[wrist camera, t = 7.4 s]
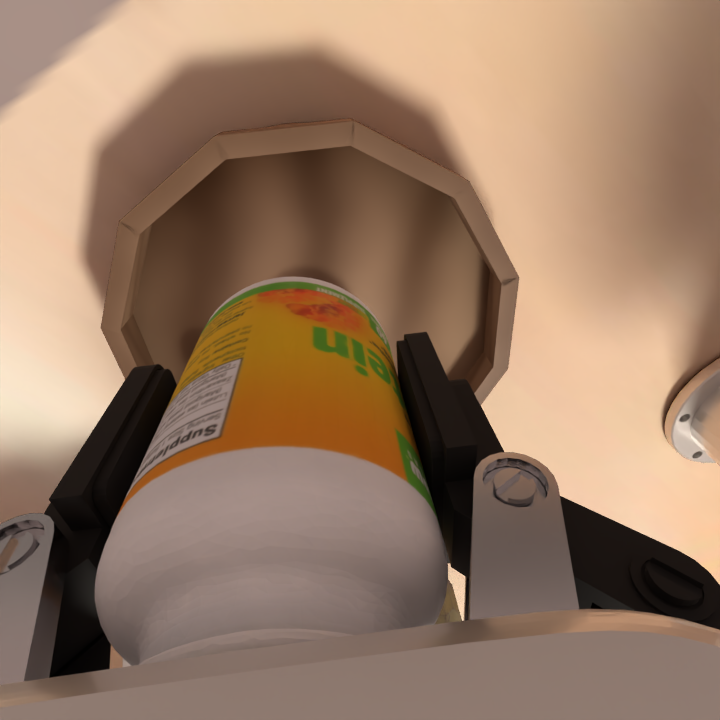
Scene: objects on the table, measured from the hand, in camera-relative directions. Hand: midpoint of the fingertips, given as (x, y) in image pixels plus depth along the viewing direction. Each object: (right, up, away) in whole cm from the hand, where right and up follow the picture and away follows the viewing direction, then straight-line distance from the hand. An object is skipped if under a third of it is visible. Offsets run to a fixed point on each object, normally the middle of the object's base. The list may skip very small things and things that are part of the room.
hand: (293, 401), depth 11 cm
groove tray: (-1, +3, +18) cm, 18 cm away
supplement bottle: (0, +1, +2) cm, 2 cm away
